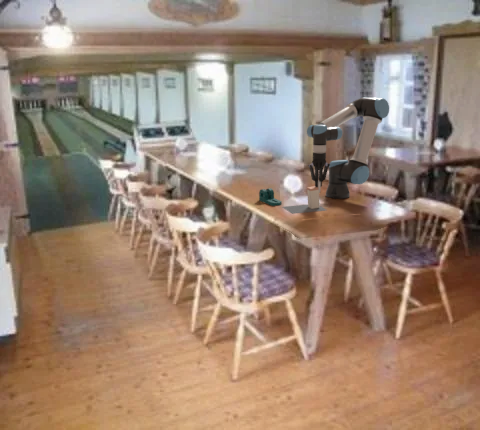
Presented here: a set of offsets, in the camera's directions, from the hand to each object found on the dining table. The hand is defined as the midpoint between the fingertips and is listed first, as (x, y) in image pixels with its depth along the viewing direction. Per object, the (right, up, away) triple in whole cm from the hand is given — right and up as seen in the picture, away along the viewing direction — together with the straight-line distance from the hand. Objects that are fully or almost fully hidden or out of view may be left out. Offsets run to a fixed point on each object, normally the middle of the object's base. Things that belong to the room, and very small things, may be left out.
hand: (318, 192), depth 305 cm
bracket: (-26, -6, +17) cm, 32 cm away
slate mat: (-8, -10, 0) cm, 13 cm away
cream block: (-2, -9, +2) cm, 9 cm away
